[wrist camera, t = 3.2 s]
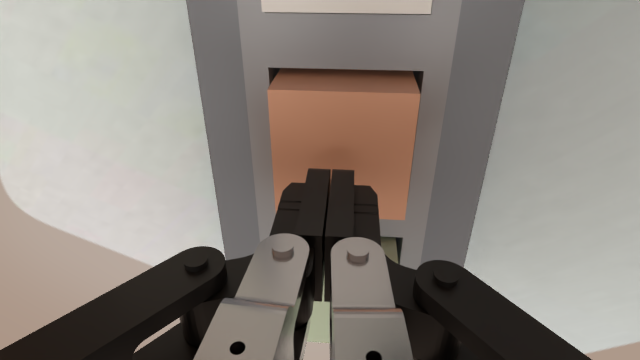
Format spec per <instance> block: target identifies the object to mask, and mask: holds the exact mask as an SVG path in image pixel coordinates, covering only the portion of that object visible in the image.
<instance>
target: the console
mask: <svg viewBox="0 0 640 360" xmlns="http://www.w3.org/2000/svg"><path fill="white" fill-rule="evenodd" d="M524 1H525V0H432V7H431V14H379V13H296V12H262V7H261V0H186V2H187V9H188V15H189V22H190V29H191V35H192V42H193V48H194V55H195V61H196V68H197V74H198V81H199V87H200V94H201V100H202V107H203V113H204V120H205V126H206V133H207V139H208V146H209V152H210V159H211V166H212V172H213V179H214V185H215V192H216V198H217V205H218V211H219V218H220V224H221V231H222V237H223V244H224V250H225V257H226V260H230V259H236V258H241V257H246V256H249V255H252V254H254V253H255V250H256V248H257V246H258V245H259V243H260V242H261V241H262V240H264V239H265V238H267V237H269V235H270V232H271V229H272V225H273V222H274V219H275V215H276V211H275V196H274V182H273V167H272V152H271V138H270V123H269V109H268V94H267V89H268V88H269V86H270V84H271V83H272V81H273V80H274V78H275V76H276V75H277V73H278V72H279V70H280V69H281V68H314V69H358V70H402V71H412V72H413V74H414V77H415V80H416V83H417V85H418V88H419V91H420V94H421V95H420V103H419V111H418V119H417V127H416V135H415V143H414V151H413V159H412V167H411V175H410V183H409V191H408V199H407V207H406V215H405V220H388V219H379V223H380V236H383V237H396V246H397V255H398V264H400V265H402V266H405V267H408V268H412V269H415V270H417V268H418V267H419V266H420V265H421V264H423V263H425V262H427V261H431V260H446V261H450V262H453V263H456V264H458V265H460V266H462V267H464V262H465V258H466V254H467V249H468V245H469V241H470V236H471V232H472V228H473V223H474V219H475V214H476V210H477V206H478V201H479V197H480V193H481V188H482V184H483V180H484V175H485V171H486V166H487V162H488V158H489V153H490V149H491V145H492V140H493V136H494V132H495V127H496V123H497V118H498V114H499V110H500V105H501V101H502V97H503V92H504V88H505V84H506V79H507V75H508V70H509V66H510V62H511V57H512V53H513V49H514V44H515V40H516V36H517V31H518V27H519V23H520V18H521V14H522V9H523V5H524Z"/></svg>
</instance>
